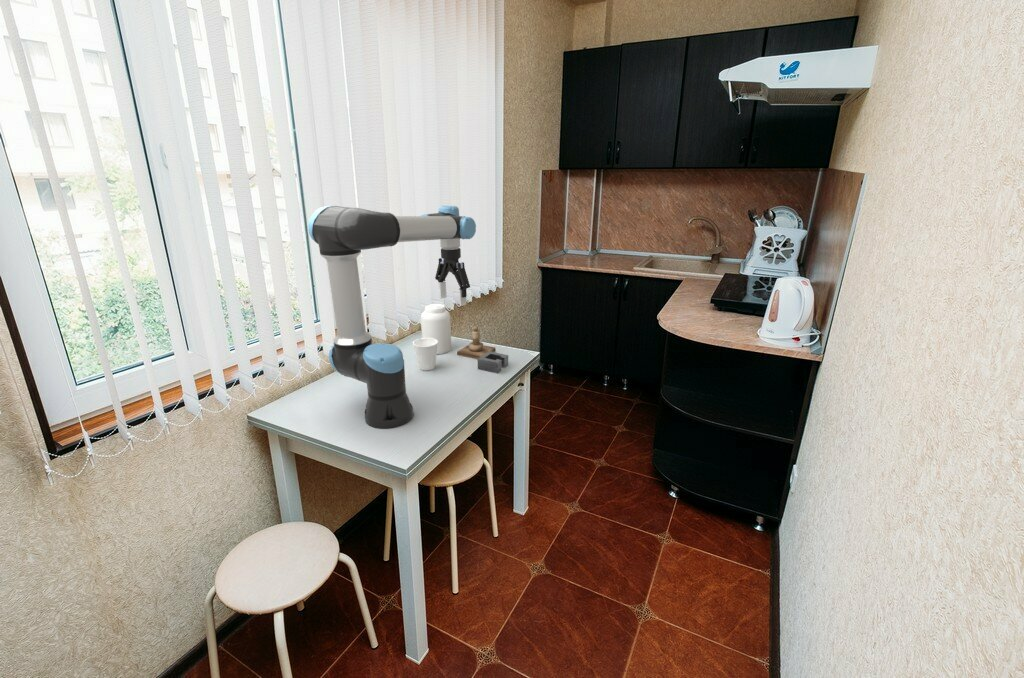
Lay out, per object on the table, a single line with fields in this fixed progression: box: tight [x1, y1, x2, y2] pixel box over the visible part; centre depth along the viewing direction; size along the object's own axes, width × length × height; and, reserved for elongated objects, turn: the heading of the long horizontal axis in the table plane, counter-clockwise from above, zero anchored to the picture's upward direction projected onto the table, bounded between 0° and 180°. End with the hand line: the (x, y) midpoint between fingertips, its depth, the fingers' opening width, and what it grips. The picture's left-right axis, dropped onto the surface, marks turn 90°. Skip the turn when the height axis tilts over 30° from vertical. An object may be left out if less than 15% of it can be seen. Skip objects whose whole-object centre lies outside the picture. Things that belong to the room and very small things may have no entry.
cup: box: [412, 337, 438, 371], centre depth 187 cm, size 10×10×11 cm
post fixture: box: [456, 325, 496, 360], centre depth 202 cm, size 12×12×12 cm
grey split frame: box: [477, 351, 509, 374], centre depth 189 cm, size 9×9×4 cm
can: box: [420, 303, 452, 355], centre depth 204 cm, size 12×12×20 cm
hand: (452, 301), depth 188 cm, fingers open, 13 cm apart
